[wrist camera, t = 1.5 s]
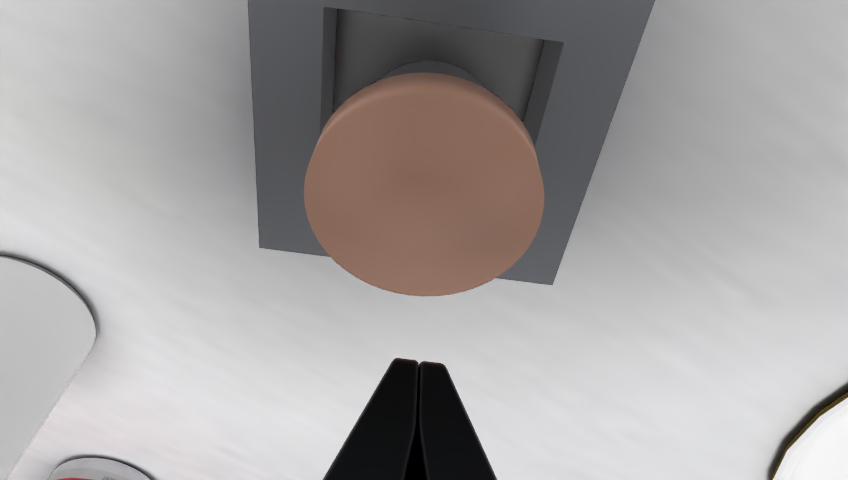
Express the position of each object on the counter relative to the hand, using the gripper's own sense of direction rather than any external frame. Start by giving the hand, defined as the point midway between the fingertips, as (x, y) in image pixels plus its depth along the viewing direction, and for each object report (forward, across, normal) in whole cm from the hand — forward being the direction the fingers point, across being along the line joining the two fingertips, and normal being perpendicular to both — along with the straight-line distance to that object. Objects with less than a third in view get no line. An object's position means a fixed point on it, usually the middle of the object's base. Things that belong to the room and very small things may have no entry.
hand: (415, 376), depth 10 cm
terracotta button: (+9, 0, 0) cm, 9 cm away
